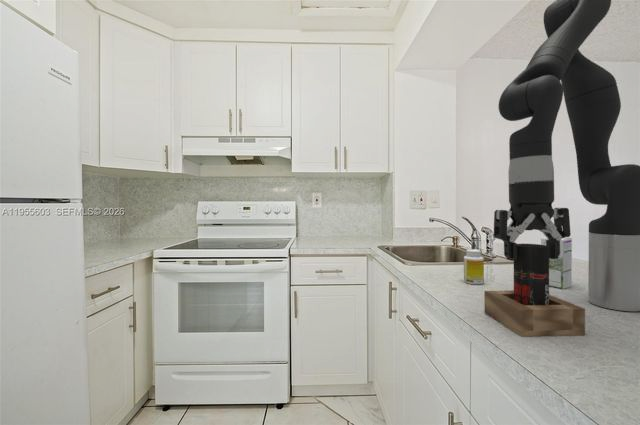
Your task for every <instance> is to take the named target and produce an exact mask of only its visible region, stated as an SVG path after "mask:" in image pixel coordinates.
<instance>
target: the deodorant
mask: <svg viewBox="0 0 640 425" xmlns="http://www.w3.org/2000/svg"><path fill="white" fill-rule="evenodd" d="M516 245H517V260H516V261H513V290H514V301H516V302H518V303H521V304H523V305H549V295H550V286H549V246H546V245H541V244H536V243H516Z"/></svg>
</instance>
